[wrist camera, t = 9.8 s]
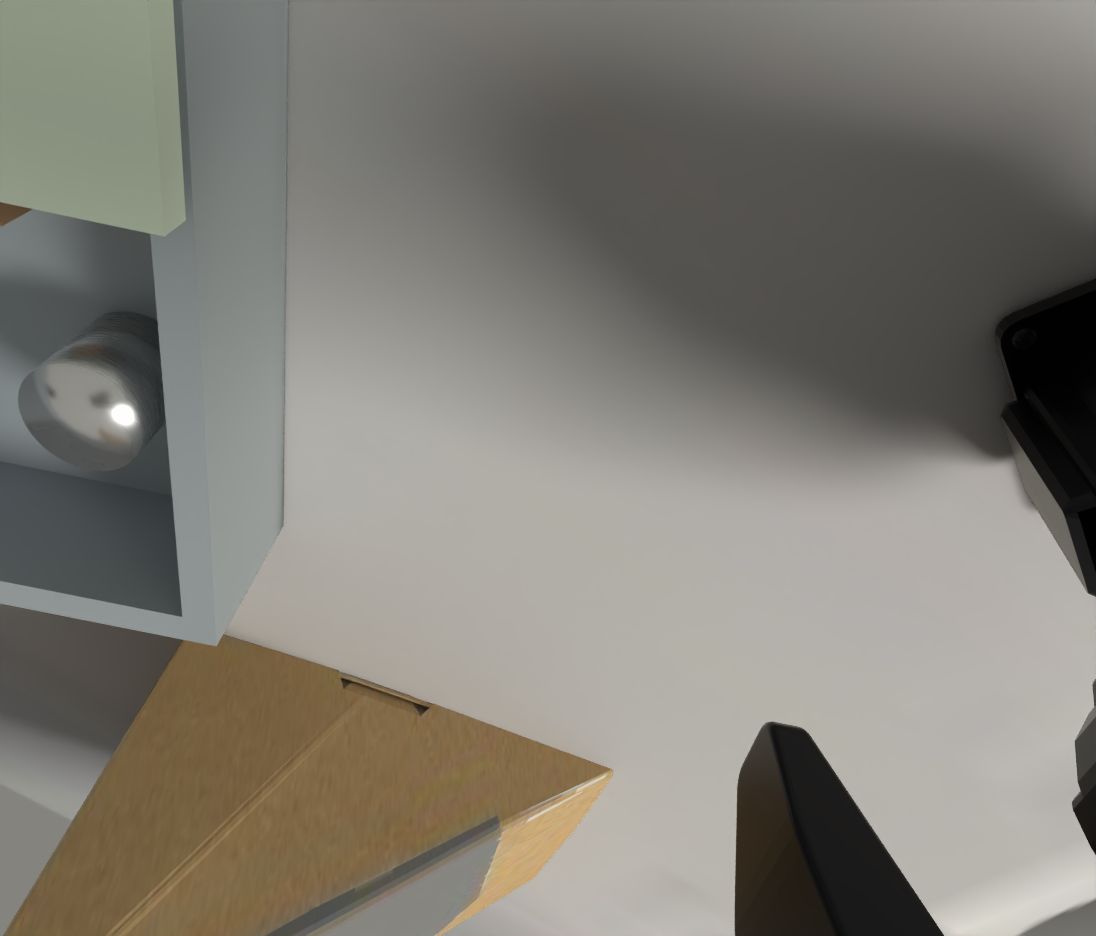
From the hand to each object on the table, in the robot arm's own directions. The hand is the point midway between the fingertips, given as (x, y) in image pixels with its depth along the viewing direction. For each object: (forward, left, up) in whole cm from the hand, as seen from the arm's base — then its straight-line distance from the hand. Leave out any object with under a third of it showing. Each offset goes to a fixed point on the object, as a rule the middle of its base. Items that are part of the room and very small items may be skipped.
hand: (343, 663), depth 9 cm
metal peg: (+10, -2, -12) cm, 16 cm away
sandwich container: (+14, +15, -13) cm, 25 cm away
